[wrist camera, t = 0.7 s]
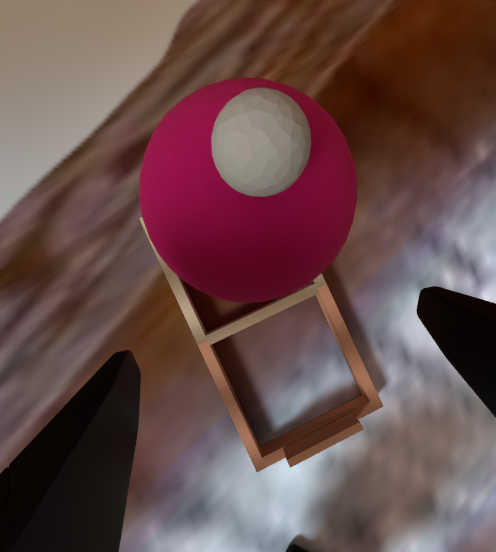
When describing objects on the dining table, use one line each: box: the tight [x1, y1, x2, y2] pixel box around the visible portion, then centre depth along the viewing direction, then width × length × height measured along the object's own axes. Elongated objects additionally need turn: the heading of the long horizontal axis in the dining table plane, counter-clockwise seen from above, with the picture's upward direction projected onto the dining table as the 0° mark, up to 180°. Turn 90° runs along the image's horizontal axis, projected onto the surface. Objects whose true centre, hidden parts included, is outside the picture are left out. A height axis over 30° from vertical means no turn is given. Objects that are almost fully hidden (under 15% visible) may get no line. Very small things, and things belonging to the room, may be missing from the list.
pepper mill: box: [140, 78, 357, 303], centre depth 14 cm, size 7×7×20 cm
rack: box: [139, 217, 383, 472], centre depth 23 cm, size 21×11×3 cm, turn 25°
